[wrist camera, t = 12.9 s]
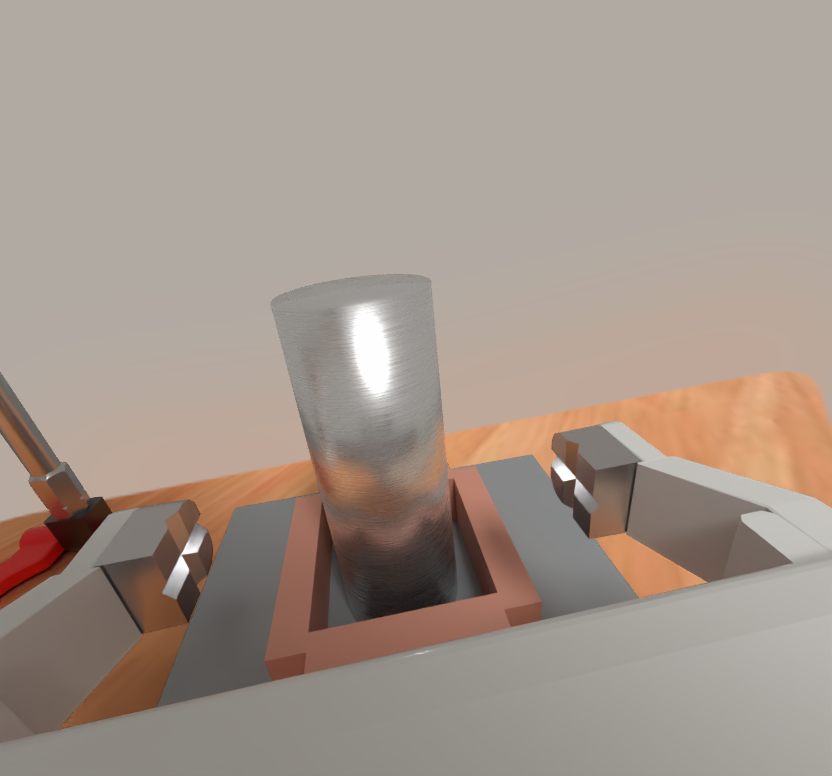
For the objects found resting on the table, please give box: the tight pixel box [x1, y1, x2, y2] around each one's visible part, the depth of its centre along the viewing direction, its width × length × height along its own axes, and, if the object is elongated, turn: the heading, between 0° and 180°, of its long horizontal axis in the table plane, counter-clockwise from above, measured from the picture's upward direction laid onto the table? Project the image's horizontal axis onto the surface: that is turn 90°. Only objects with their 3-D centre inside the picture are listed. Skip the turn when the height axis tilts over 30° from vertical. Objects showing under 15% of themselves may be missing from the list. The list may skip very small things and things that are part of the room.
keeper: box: [157, 455, 639, 707], centre depth 16 cm, size 17×14×4 cm
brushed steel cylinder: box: [271, 274, 458, 622], centre depth 14 cm, size 4×4×12 cm
